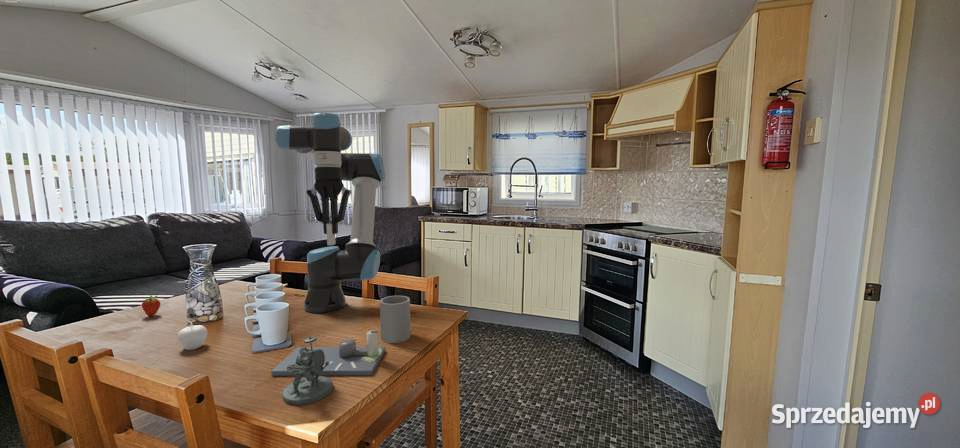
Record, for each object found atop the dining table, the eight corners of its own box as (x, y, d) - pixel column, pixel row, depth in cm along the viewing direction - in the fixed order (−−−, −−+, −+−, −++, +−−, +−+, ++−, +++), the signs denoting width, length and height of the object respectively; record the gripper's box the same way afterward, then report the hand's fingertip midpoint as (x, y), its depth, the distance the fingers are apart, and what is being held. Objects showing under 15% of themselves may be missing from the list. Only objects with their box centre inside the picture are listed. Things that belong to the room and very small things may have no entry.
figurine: (271, 402, 83) (268, 350, 82) (301, 378, 94) (299, 331, 92) (316, 407, 81) (313, 353, 80) (341, 381, 92) (339, 334, 91)
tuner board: (297, 351, 109) (297, 346, 108) (385, 350, 109) (384, 346, 109) (271, 375, 95) (271, 370, 94) (371, 375, 95) (371, 370, 95)
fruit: (139, 317, 136) (137, 295, 136) (156, 312, 141) (154, 292, 140) (148, 319, 134) (146, 297, 134) (165, 314, 139) (163, 293, 138)
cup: (376, 342, 115) (375, 303, 114) (387, 330, 124) (386, 295, 123) (405, 343, 114) (404, 305, 112) (414, 332, 123) (413, 296, 121)
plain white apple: (174, 354, 107) (172, 327, 106) (183, 344, 113) (181, 318, 112) (204, 350, 109) (202, 323, 108) (211, 340, 116) (209, 315, 115)
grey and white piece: (336, 357, 101) (335, 334, 101) (342, 350, 106) (341, 328, 105) (376, 357, 101) (375, 334, 100) (380, 350, 105) (380, 328, 105)
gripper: (300, 166, 109) (304, 246, 112) (345, 166, 109) (348, 246, 112) (311, 167, 117) (315, 242, 119) (354, 167, 117) (356, 242, 119)
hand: (331, 244), depth 115 cm, fingers closed
